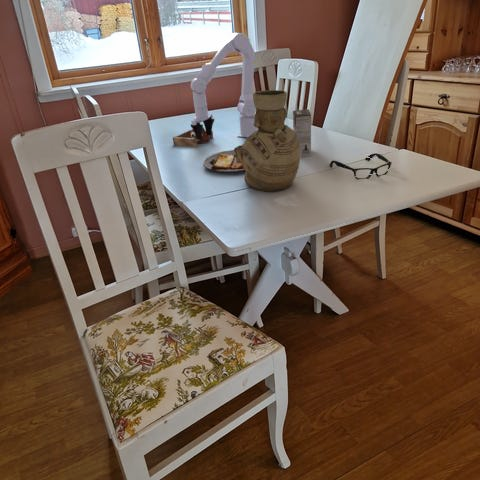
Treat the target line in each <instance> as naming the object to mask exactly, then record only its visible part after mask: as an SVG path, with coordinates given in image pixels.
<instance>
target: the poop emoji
mask: <svg viewBox="0 0 480 480" xmlns="http://www.w3.org/2000/svg"><path fill="white" fill-rule="evenodd" d="M199 124H201V122H200V123H199ZM191 130H192V131H191V132H190V137H189V138H195V139H197V136H196V134H195V132H194V130H193V129H192V128H191ZM205 130H206V129H205V127H203V128H202V140H198V139H197V144H205V143H208V142H210V140H211V138H210V137H209V135H207V132H206V131H205Z"/></svg>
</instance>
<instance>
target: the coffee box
mask: <svg viewBox="0 0 480 480" xmlns="http://www.w3.org/2000/svg"><path fill="white" fill-rule="evenodd" d="M292 126H293V127H292V130H294V132H295V133H296V135H297V137H298V141H299V146H300V157H307V156H312V114H311V111H310V109H298V110H292Z"/></svg>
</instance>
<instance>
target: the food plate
mask: <svg viewBox="0 0 480 480" xmlns="http://www.w3.org/2000/svg"><path fill="white" fill-rule="evenodd" d="M202 166H203V168H205V169H207V170H209V171H213V172H224V173H226V172H227V173H236V172H242V171H245V169H244V168H243V164H242V161H241V163H237V162H236V153H235V152H234V149H231V150H223V151H220V152H215V153H213V154H211V155H209V156H207V157H206V158H205V160H204V162H203V163H202Z"/></svg>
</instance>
